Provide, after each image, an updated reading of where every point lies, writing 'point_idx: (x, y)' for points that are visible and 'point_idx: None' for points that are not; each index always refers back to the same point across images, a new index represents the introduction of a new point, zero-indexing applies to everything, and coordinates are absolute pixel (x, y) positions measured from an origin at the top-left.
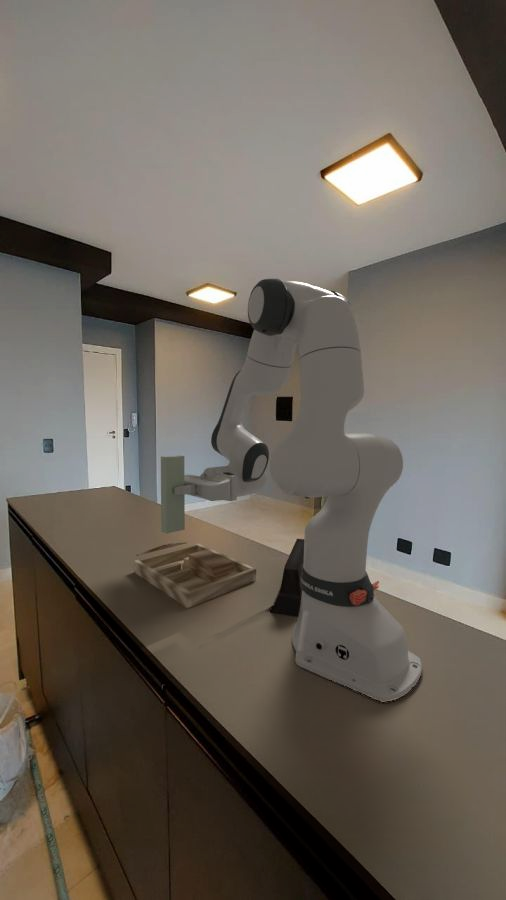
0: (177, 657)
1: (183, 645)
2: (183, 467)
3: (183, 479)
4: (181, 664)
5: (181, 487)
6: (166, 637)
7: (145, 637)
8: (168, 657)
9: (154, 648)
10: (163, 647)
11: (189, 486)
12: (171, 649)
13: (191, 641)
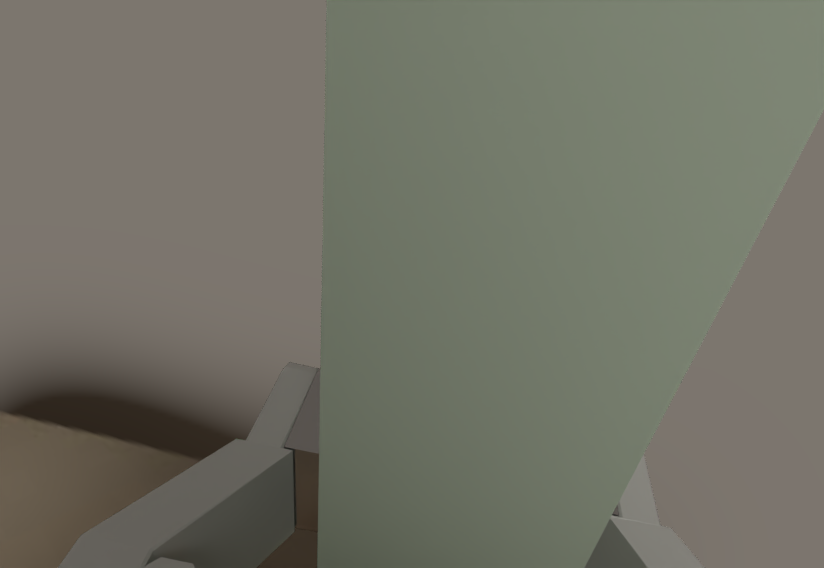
0: (41, 454)
1: (44, 497)
2: (330, 194)
3: (330, 481)
4: (17, 442)
5: (252, 436)
6: (122, 497)
7: (187, 465)
8: (69, 443)
9: (130, 448)
10: (105, 462)
11: (109, 520)
12: (76, 468)
13: (23, 525)
